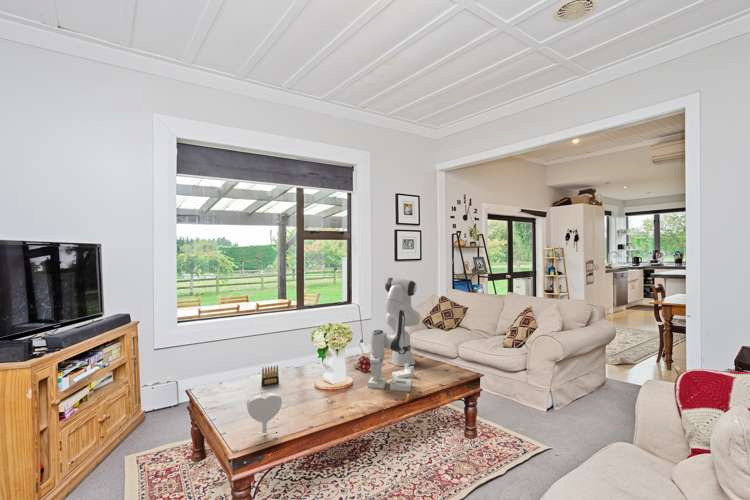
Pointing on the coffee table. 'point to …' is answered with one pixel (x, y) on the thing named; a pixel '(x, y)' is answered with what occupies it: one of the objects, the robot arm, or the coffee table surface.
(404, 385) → the port
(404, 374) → the bracket
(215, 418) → the coffee table surface
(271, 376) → the ammunition clip
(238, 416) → the coffee table surface
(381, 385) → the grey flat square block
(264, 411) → the heart sculpture
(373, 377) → the plug
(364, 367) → the dark red lumpy cluster
